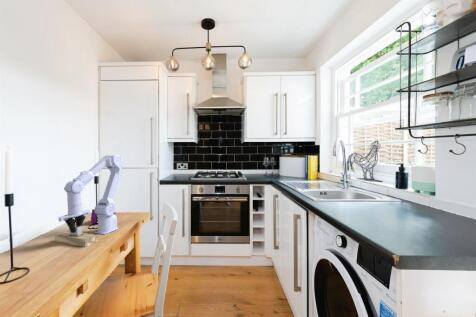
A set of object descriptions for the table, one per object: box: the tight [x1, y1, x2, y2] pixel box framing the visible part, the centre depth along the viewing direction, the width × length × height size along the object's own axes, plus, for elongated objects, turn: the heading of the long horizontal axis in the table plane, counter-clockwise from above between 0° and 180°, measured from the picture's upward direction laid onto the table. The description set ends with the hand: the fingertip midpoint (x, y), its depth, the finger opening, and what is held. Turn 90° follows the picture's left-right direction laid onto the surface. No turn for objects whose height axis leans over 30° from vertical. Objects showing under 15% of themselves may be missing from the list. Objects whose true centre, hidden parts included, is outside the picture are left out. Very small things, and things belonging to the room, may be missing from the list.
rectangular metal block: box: [68, 224, 83, 237], centre depth 118 cm, size 2×6×8 cm, turn 70°
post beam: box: [54, 230, 99, 248], centre depth 118 cm, size 6×22×4 cm, turn 69°
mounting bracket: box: [90, 208, 116, 225], centre depth 155 cm, size 9×8×18 cm
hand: (75, 231), depth 118 cm, fingers closed on rectangular metal block, 2 cm apart
